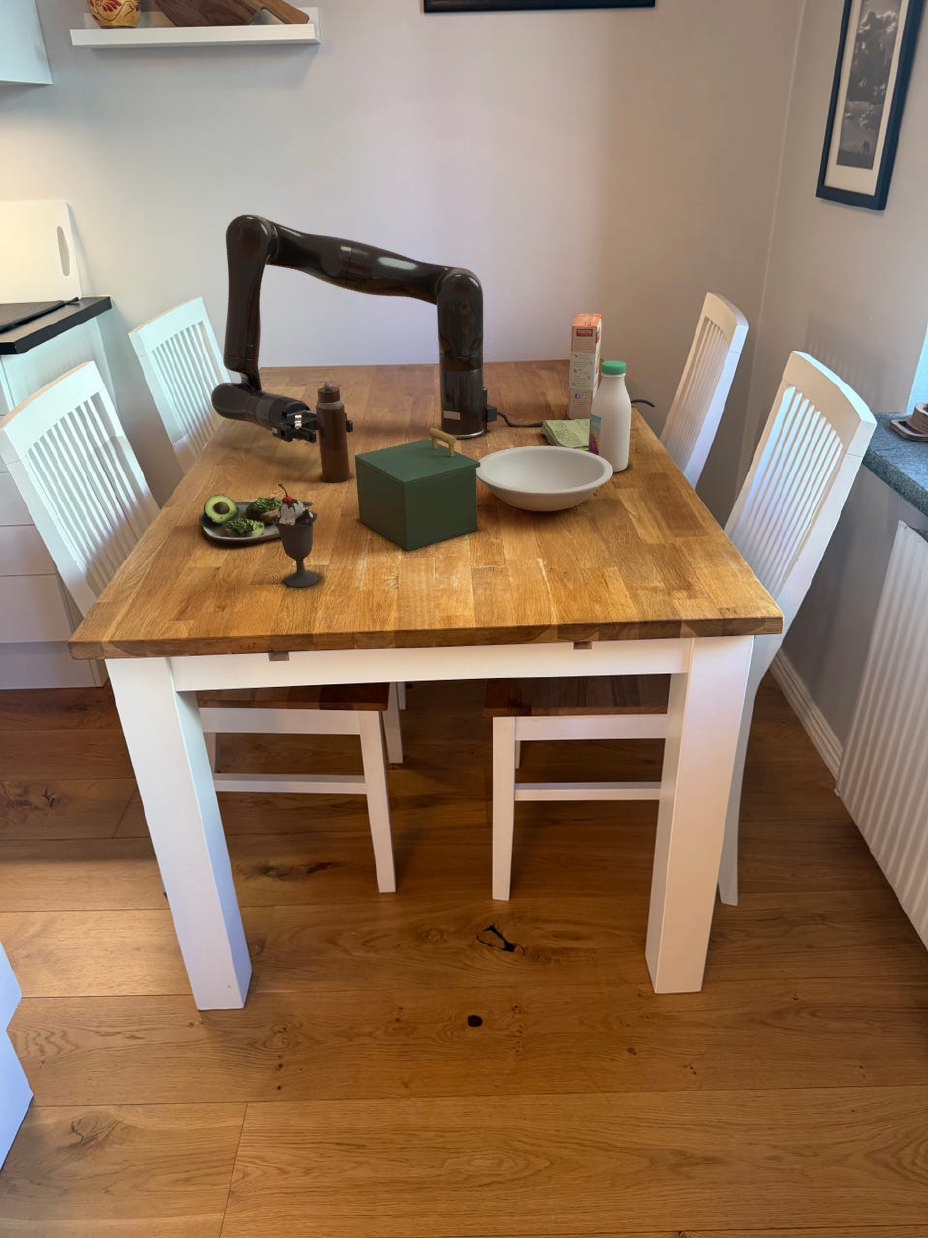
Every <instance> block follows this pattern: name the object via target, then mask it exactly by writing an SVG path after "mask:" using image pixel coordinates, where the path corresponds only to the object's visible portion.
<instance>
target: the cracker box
mask: <svg viewBox="0 0 928 1238" xmlns="http://www.w3.org/2000/svg"><path fill="white" fill-rule="evenodd" d="M602 324H603V314H601V313H585V312H584V313H581V312H580V313H577V315H576V317H575V319H574V321H573V322H572V324H571V334H570V353H569V376H568V394H567V411H566V412H567V416H566V418H571V420H575V419H578V420H579V419H590V414H591V406H592V402H593V399H594V396H595V394H596V392H597V390H598V388H599V372H600V357H601V343H602V342H601V341H602V326H603V325H602Z"/></svg>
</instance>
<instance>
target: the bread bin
mask: <svg viewBox="0 0 928 1238" xmlns="http://www.w3.org/2000/svg"><path fill="white" fill-rule="evenodd" d="M354 463H355V464H354V466H355V479H356V490H357V491H356V492H357V504H358V517H359V521H360V522H361V523H363V524H365V525H366V526H368V527H369V528H371V529H372V530H374V531H375V532H377V533H379V534H380V535H382V536H384V537H385V538H387V539H388V540H389V541H391V542H392V543H394V544H396V545H397V546H399V547H400V548H402V549H403V550H405V551H407V552H409V551H412V550H416V549H419V548H422V547H425V546H426V547H427V546H428V545H432V544H436V543H439V542H443V541H446V540H449V539H453V538H456V537H459V536H464V535H466V534H469V533H473V532H476V531H478V516H477V515H478V513H477V511H478V510H477V509H478V508H477V502H478V501H477V497H478V496H477V476H476V468H475V469H471V470H467V471H463V472H459V473H455V474H451V475H447V476H443V477H440V478H436V479H432V480H428V481H424V482H420V483H416V484H412V485H408V486H405V487H404V486H402V485H400V484H399V483H397V482H395V481H393V480H391V479H389V478H388V477H386V476H384V475H382V474H380V473H378V472H376V471H375V470H373V469H371V468H369V467H367V466H365V465H364V464H362V463H360V462H358V461H356V460H355V459H354Z"/></svg>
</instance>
